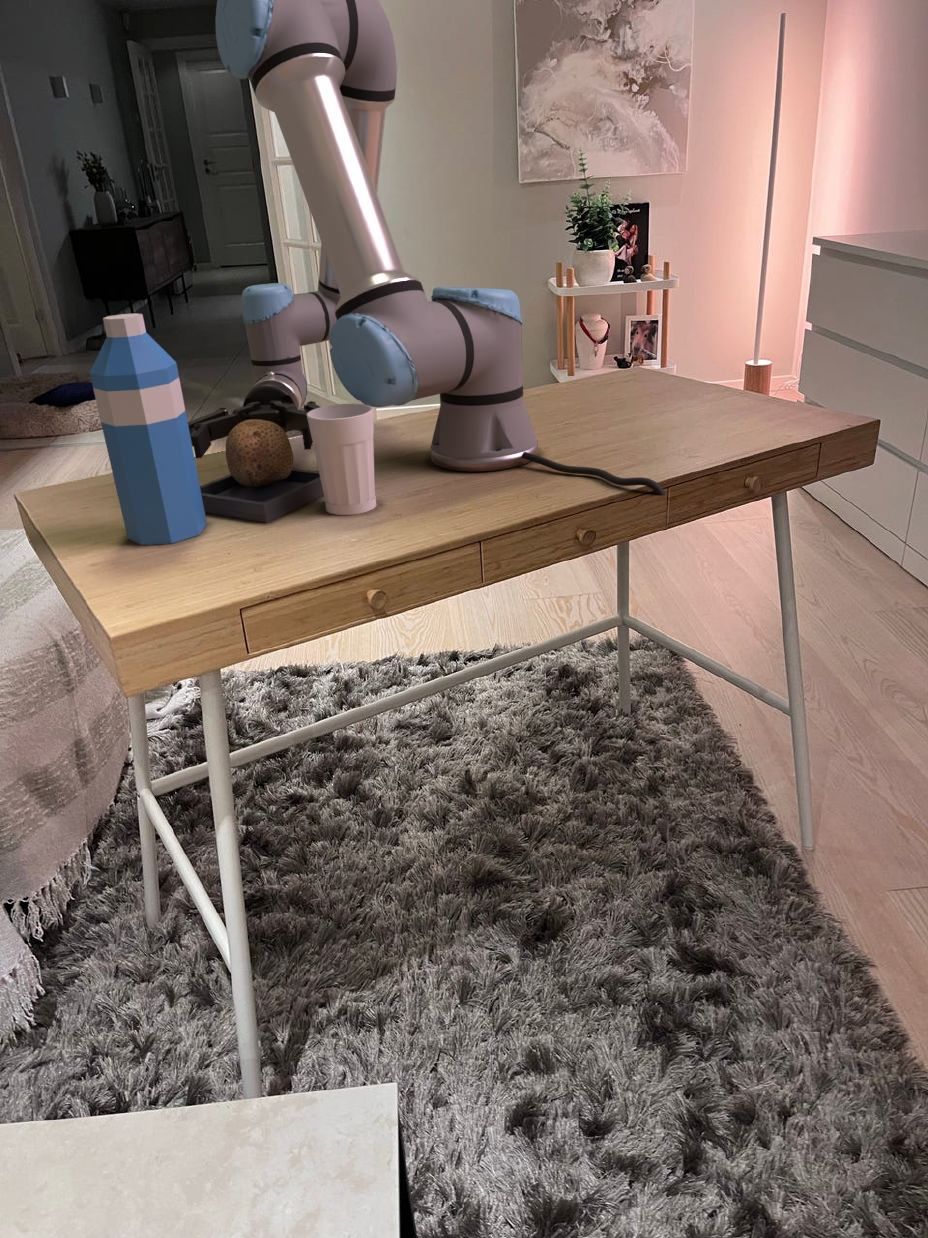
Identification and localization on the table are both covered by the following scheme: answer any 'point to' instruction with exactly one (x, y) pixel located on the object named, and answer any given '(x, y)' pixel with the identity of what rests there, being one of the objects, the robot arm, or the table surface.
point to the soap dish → (261, 496)
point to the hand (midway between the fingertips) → (251, 443)
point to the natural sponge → (258, 453)
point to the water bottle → (147, 435)
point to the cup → (345, 456)
